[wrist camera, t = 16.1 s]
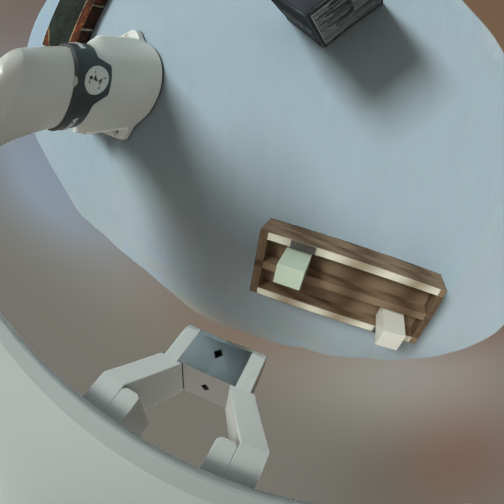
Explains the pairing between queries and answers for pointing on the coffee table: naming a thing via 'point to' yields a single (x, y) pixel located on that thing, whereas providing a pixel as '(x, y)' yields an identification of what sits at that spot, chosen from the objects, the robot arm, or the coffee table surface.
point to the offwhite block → (389, 328)
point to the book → (73, 21)
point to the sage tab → (292, 268)
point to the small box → (325, 16)
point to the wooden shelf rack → (347, 280)
